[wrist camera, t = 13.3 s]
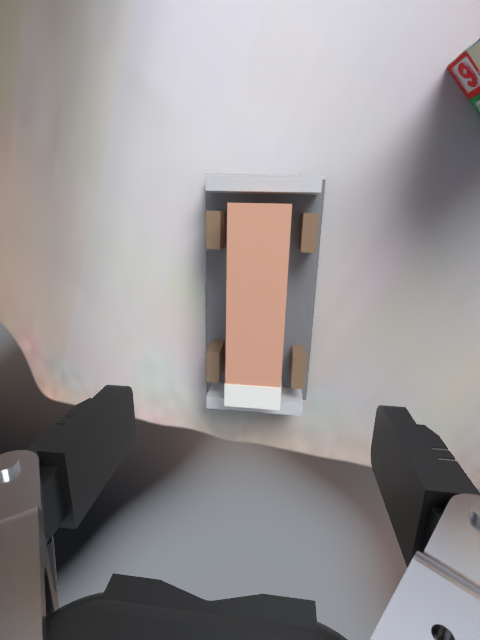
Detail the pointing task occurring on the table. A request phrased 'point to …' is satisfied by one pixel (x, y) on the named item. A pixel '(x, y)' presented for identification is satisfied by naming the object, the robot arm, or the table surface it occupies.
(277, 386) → the peach lotion tube
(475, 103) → the stack of blocks
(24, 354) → the table surface
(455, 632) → the robot arm
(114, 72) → the table surface
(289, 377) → the cradle jig
